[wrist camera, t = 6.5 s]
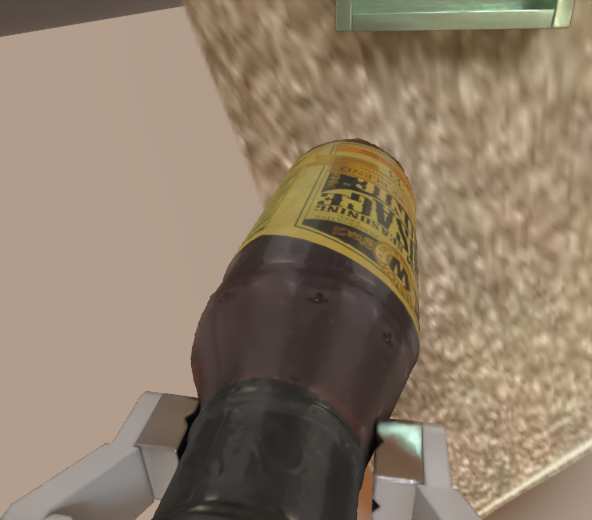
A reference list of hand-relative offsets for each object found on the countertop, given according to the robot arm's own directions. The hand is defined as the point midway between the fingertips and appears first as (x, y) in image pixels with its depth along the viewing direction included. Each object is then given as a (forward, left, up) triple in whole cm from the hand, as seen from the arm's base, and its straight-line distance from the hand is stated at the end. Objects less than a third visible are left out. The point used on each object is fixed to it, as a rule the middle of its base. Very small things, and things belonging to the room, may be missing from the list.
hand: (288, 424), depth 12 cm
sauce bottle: (0, 0, -15) cm, 15 cm away
